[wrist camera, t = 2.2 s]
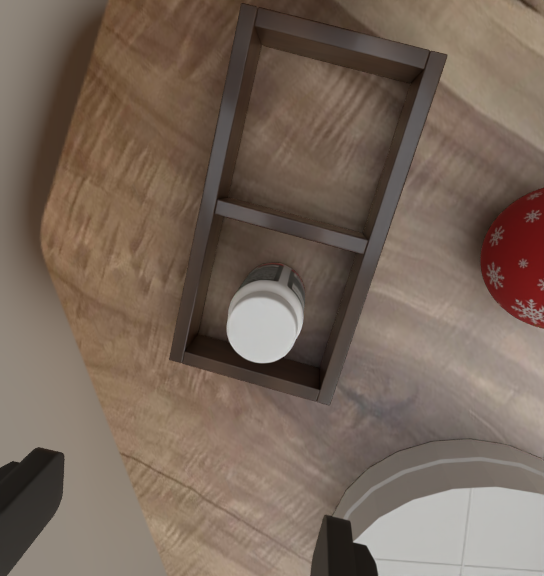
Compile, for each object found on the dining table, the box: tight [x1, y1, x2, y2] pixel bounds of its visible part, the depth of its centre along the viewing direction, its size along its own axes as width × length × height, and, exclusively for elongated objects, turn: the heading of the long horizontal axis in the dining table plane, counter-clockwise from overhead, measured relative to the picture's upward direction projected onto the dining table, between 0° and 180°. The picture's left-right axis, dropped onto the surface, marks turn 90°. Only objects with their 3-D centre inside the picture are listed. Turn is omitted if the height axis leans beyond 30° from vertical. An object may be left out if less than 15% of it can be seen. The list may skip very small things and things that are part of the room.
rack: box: [169, 3, 447, 405], centre depth 27 cm, size 12×23×4 cm, turn 165°
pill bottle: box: [227, 263, 305, 363], centre depth 27 cm, size 5×5×8 cm
